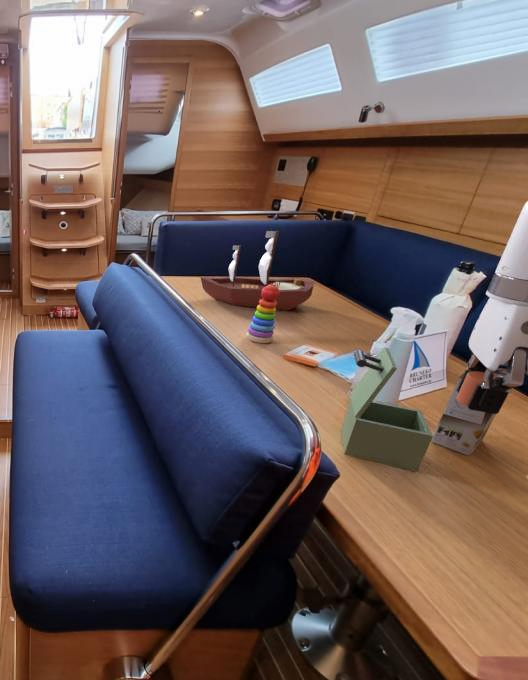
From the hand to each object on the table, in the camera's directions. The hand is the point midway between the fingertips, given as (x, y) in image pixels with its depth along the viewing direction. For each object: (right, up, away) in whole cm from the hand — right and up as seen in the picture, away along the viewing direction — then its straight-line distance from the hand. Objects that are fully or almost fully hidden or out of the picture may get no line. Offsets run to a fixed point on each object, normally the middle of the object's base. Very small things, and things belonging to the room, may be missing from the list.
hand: (476, 401), depth 64 cm
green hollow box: (+6, -14, +25) cm, 29 cm away
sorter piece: (0, 0, 0) cm, 0 cm away
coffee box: (+24, -13, +26) cm, 38 cm away
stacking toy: (+11, +10, +76) cm, 78 cm away
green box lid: (+2, +1, +20) cm, 20 cm away
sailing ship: (+26, +25, +107) cm, 113 cm away
